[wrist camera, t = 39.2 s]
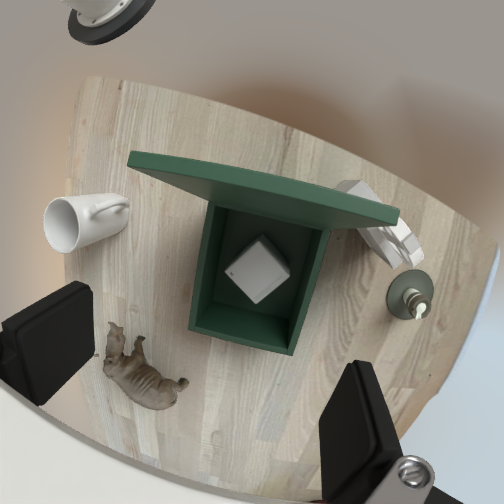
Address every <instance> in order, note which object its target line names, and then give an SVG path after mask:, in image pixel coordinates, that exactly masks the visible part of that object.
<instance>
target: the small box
mask: <svg viewBox="0 0 504 504" xmlns="http://www.w3.org/2000/svg"><path fill="white" fill-rule="evenodd" d="M225 273H226V274H227V275H228V276H229V277H230V278H231V279H232V280H233V281H234V282H235V283H236V284H237V285H238V286H239V287H240V288H241V289H242V290H243V291H244V293H245V294H246V295H247V296H248V297H249V298H250V299H251V300H252V301H253V302H254V303H255V304H257V303H258V302H259V301H261V300H262V299H263V298H265V297H266V296H267V295H268V294H270V293H271V292H272V291H273V290H274V289H276V288H277V287H278V286H279V285H280V284H282V283H283V282H284V281H285V280H286V279H288V278H289V277H290V264H289V263H288V262H287V260H286V259H285V258H284V257H283V256H282V255H281V253H280V252H279V251H278V250H277V249H276V248H275V246H274V245H273V244H272V243H271V242H270V241H269V240H268V238H267V237H266V236H265V235H264V234H260V235H259V236H258V237H257V238H255V239H254V240H253V241H252V242H251V243H250V244H249V245H247V246H246V247H245V248H244V249H243V250H242V251H241V252H240V253H239V254H237V255H236V256H235V257H234V258H233V259H232V260H231V262H230V263H229V265H228V266H227V268H226V269H225Z"/></svg>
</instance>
